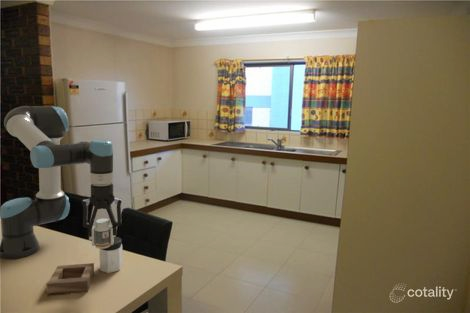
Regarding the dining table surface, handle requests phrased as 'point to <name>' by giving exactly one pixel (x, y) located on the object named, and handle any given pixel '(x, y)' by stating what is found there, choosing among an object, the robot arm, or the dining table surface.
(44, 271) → the dining table surface
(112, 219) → the robot arm
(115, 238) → the jar
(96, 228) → the pill bottle
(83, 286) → the socket block
